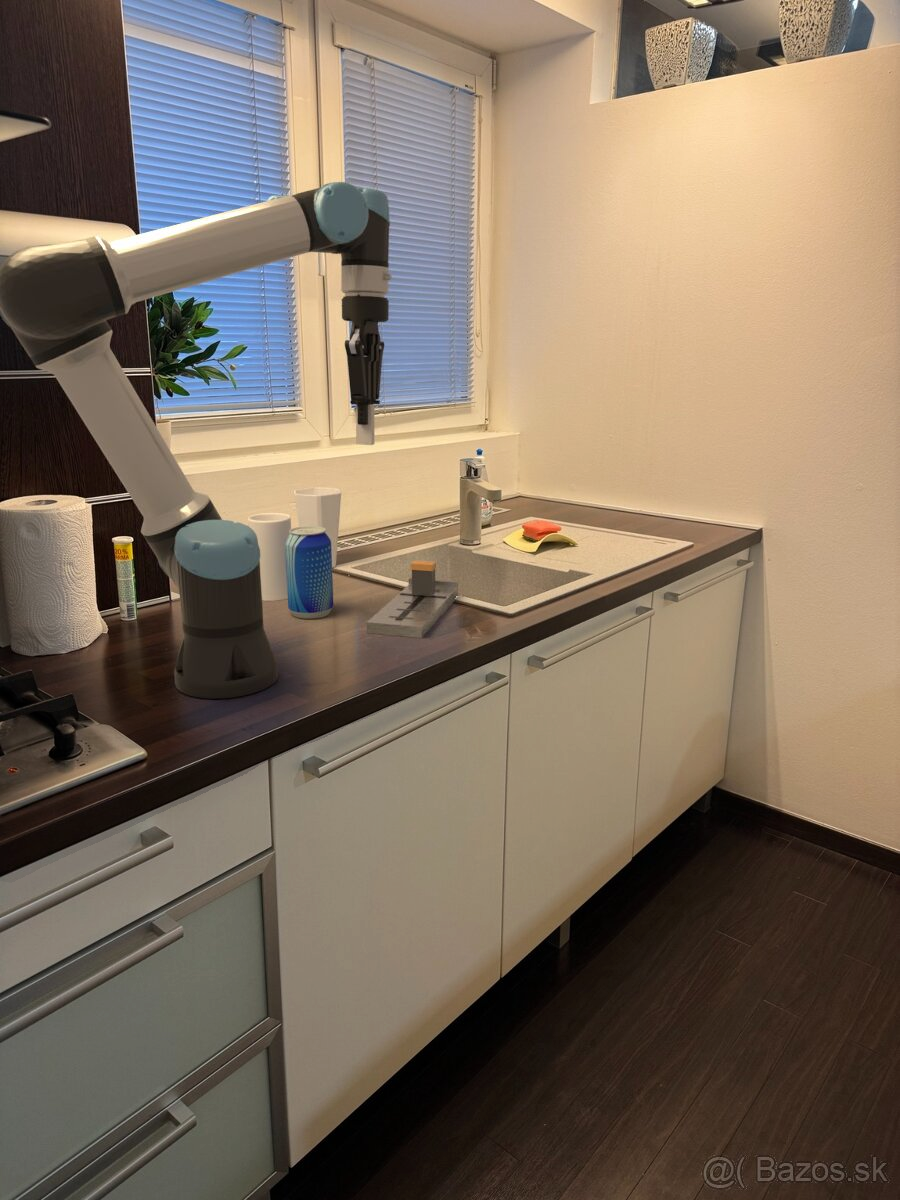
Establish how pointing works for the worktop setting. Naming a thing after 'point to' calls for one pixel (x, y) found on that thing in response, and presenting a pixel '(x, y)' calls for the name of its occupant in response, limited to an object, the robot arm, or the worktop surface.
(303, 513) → the cup
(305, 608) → the beer can
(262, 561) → the cup
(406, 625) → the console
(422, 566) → the fader
